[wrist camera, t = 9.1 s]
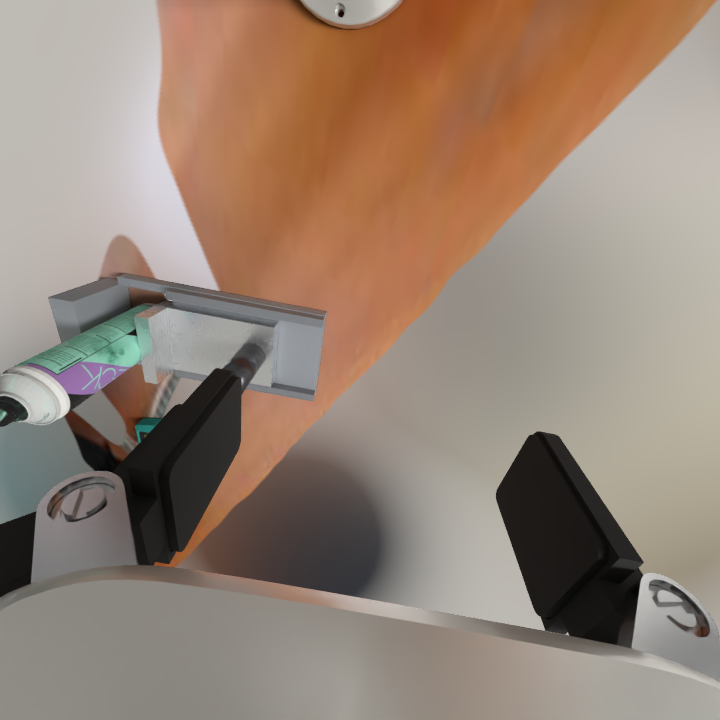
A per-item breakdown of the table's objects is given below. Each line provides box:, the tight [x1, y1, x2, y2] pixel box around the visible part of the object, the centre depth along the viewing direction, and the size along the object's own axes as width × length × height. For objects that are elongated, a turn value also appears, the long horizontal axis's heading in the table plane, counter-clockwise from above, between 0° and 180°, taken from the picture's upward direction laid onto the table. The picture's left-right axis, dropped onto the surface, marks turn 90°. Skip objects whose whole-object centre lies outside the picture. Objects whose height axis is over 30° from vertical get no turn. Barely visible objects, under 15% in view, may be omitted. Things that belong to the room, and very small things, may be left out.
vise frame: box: [48, 273, 327, 401], centre depth 40 cm, size 12×28×8 cm, turn 80°
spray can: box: [0, 303, 156, 427], centre depth 34 cm, size 6×6×20 cm
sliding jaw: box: [134, 300, 279, 395], centre depth 38 cm, size 8×14×9 cm, turn 80°
